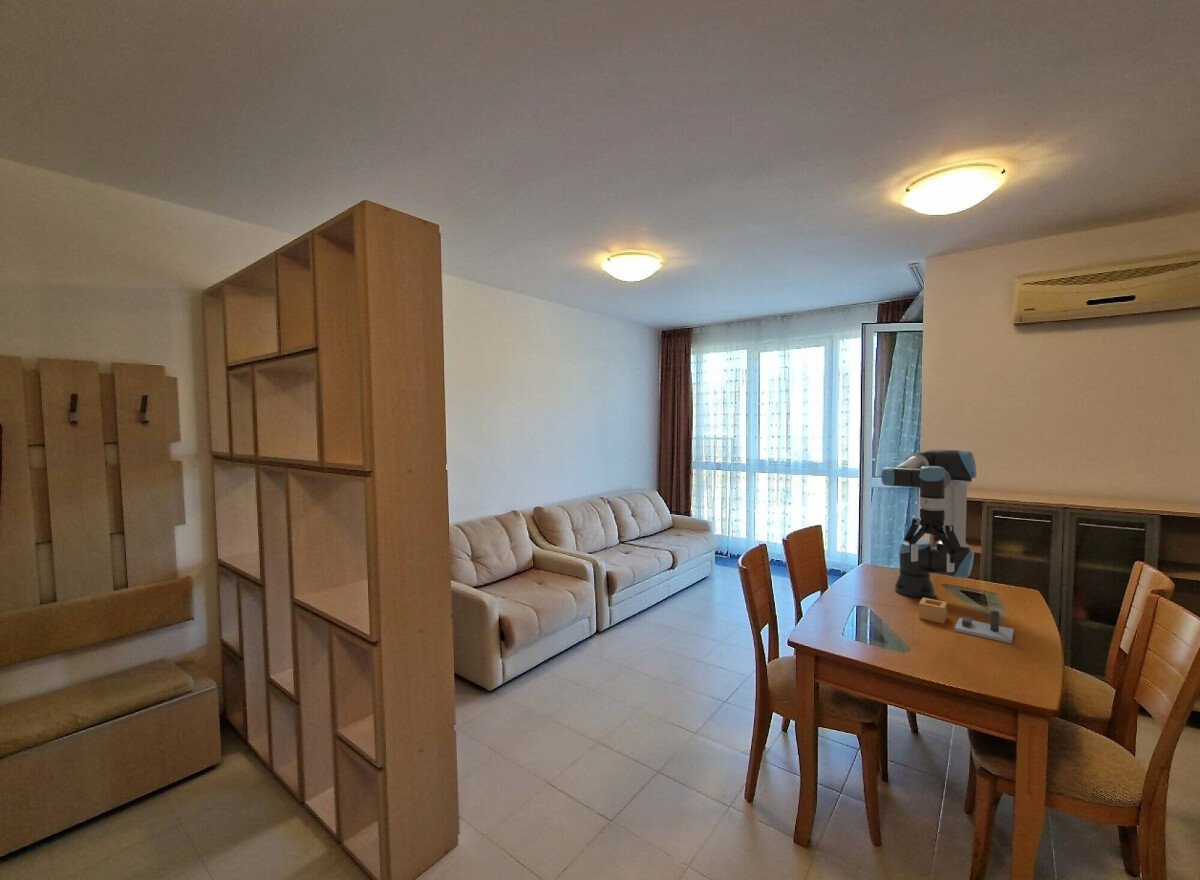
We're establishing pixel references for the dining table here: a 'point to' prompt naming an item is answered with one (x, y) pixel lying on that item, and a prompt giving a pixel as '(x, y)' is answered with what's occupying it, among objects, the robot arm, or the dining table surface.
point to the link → (933, 610)
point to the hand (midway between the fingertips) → (931, 566)
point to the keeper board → (985, 628)
